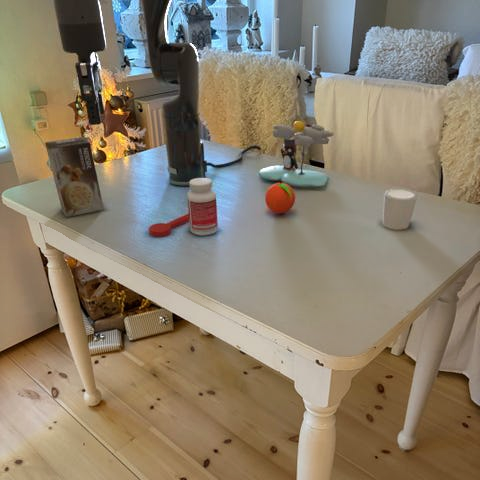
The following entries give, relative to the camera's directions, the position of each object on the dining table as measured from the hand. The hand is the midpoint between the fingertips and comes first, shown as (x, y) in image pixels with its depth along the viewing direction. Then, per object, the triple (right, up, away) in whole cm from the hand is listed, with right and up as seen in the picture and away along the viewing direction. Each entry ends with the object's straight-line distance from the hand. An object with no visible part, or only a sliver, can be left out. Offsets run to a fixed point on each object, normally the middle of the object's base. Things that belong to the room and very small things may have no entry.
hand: (97, 119), depth 94 cm
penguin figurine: (+42, -1, +39) cm, 57 cm away
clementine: (+37, -14, +21) cm, 45 cm away
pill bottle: (+19, -19, +14) cm, 31 cm away
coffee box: (-11, -12, +26) cm, 30 cm away
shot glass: (+62, -17, +15) cm, 66 cm away
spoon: (+13, -17, +17) cm, 27 cm away
